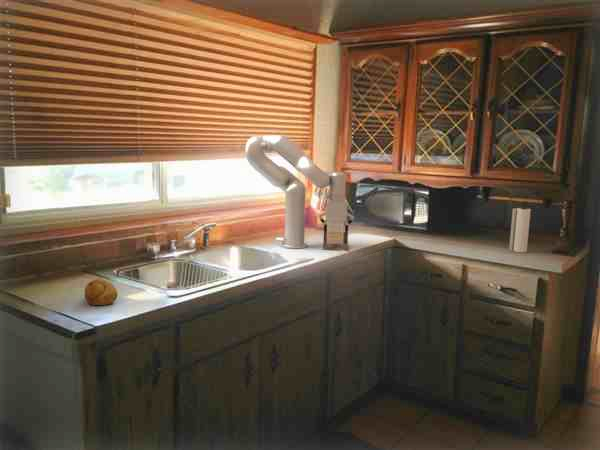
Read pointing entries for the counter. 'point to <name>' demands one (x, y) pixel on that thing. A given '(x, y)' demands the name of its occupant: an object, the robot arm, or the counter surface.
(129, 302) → the counter surface
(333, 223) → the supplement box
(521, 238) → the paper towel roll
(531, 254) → the counter surface
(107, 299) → the bread roll
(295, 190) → the robot arm
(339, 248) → the cleat holder
